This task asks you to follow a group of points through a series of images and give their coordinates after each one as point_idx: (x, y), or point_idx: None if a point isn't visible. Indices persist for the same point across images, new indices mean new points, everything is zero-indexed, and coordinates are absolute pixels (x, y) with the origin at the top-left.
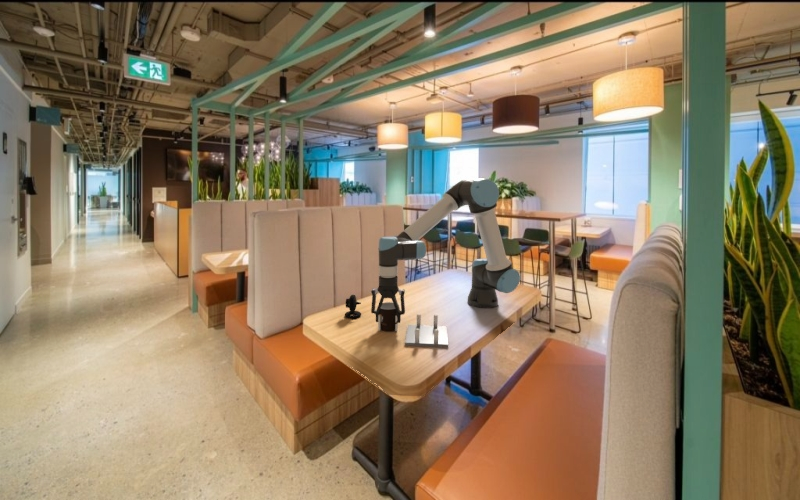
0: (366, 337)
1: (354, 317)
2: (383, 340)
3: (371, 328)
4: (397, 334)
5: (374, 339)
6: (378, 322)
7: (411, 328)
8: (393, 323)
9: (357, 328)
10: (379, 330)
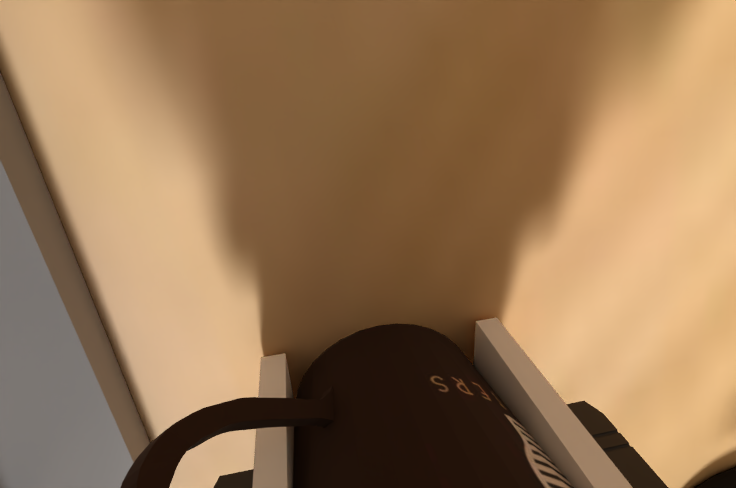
0: (628, 105)
1: (726, 483)
2: (388, 46)
3: (571, 350)
4: (234, 285)
5: (523, 59)
6: (554, 393)
7: (57, 445)
8: (320, 436)
9: (710, 313)
10: (483, 320)
